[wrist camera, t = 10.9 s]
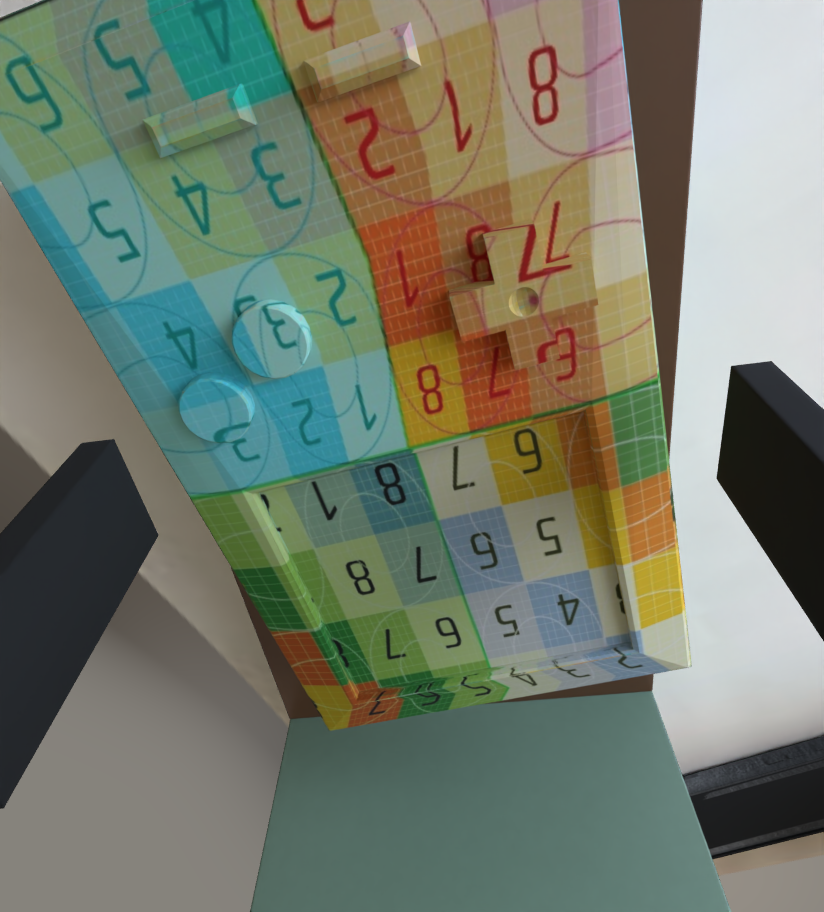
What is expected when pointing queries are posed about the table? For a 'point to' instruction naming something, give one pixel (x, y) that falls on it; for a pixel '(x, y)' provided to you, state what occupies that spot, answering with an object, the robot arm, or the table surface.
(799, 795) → the phone
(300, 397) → the puzzle game
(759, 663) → the table surface
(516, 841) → the step shelf
